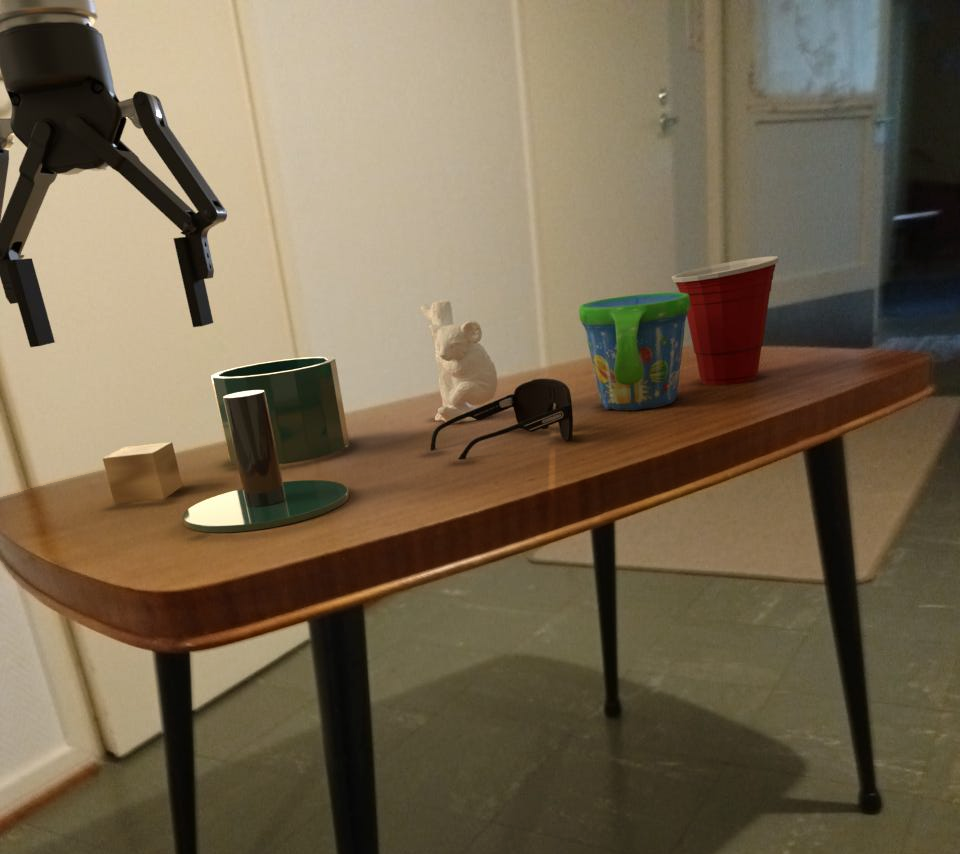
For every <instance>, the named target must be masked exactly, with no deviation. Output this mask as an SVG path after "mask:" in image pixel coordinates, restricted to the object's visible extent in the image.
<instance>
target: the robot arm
mask: <svg viewBox="0 0 960 854" xmlns="http://www.w3.org/2000/svg"><path fill="white" fill-rule="evenodd" d="M98 18H99V16H98V12H97V7H96V4H95V0H0V74H1V77H2V81H3V84H4V88H5V91H6V94H7V96H8V98H9V100H10V103H11V115H10V118H0V281H1V285H2V288H3V292H4V295H5V299H6V300H7V302H8V303H9V304H10V305H13V304H17V306H18V309H19V313H20V316H21V320H22V324H23V327H24V331H25V334H26V338H27V340H28V341H27V342H28V344H29V347H30V348H36V347H43V346H46V345H51V344H54V343H56V341H55V338H54V334H53V330H52V326H51V323H50V320H49V316H48V312H47V307H46V305H45V301H44V297H43V294H42V291H41V287H40V283H39V279H38V276H37V272H36V269H35V264H34V261H33V258H32V257H31V258H24V257H25V255H24V254H22V252H23V249H24V247H25V245H26V242H27V240H28V238H29V235H30V233H31V230H32V228H33V226H34V224H35V221H36V219H37V217H38V214H39V212H40V210H41V207H42V205H43V202H44V200H45V197H46V195H47V193H48V191H49V189H50V186H51V185H52V184H53V183H54V182H55V181H56V179H57V177H58V175H65V176H73V175H78V174H80V173H83V172H85V171H93V172H99V171H106V170H107V168H108V167H110V168H111V169H112V170H114V171H115V172H117V173H118V174H120V176H122V177H123V178H124V179H125V180H126V181H127V182H128V183H129V184H130V185H131V186H132V187H134V188H135V190H137V191H138V193H140V194H141V195H143V196H144V198H145V199H147V200H148V201H149V202H150V203H151V204H152V205H153V206H154V207H155V208H156V209H157V210H159V212H161V213H162V214H163V215H164V216H165V217H166V218H167V219H168V220H169V221H170V222H172V224H174V225H175V226H176V227H177V228H178V229H179V230H180V234H181V235H183V236H180V237H174V238H173V239H172V240H173V242H174V249H175V252H176V256H177V257H176V258H177V261H178V265H179V270H180V274H181V278H182V279H181V280H182V284H183V288H184V293H185V296H186V301H187V306H188V310H189V315H190V319H191V324H192V328H199V327H204V326H208V325H212V324H214V318H213V315H212V314H213V313H212V310H211V305H210V301H209V296H208V290H207V286H206V282H205V280H207V279H208V280H209V279H214V272H215V269H214V264H213V259H212V253H211V250H210V245H209V240H208V234H209V231H210V230H211V229H212V228H214V227H215V226H217V225H219V224H221V223H224V222H226V220H227V218H228V212H227V210H226V208H225V207H224V205H223V204H222V203H221V201H220V200H219V198H218V196H217V195H216V194H215V192H214V191H213V189H212V188H211V186H210V185H209V184H208V182H207V180H206V179H205V178H204V176H203V175H202V173H201V171H200V170H199V169H198V167H197V166H196V164H195V162H194V161H193V160H192V159H191V157H190V156H189V154H188V153H187V152H186V149H185V148H184V147H183V146H182V144H181V142H180V141H179V140H178V138H177V137H176V135H175V134H174V132H173V130H172V129H171V128H170V126H169V124H168V121H167V117H166V115H165V110H164V108H163V105H162V102H161V100H160V98H159V97H158V96H157V95H154V94H151V93H148V92H145V91H142V90H138V91H136V92H135V93H134V94H133V96H132V97H130V98H128V99H124V100H121V101H120V100H119V98H118V96H117V94H116V91H115V86H114V80H113V75H112V71H111V67H110V62H109V58H108V53H107V50H106V44H105V41H104V36H103V34H102V33H101V32H99V30H98V29H97V28H95V27H93V26H94V24H95V23H96V21H97V20H98ZM128 119H129V120H130V121H131V123H132V124H133V126H134V127H135V128H136V129H140V130H142V131H143V133H144V135H145V137H146V139H147V140H148V142H149V144H151V146H152V147H153V149H154V150H155V151H156V153H157V155H158V156H159V157H160V159H161V160H162V161H163V163H164V164H165V166H166V168H167V169H168V170H169V171H170V173H171V174H172V176H173V177H174V178H175V181H176V182H177V183H178V184H179V186H180V187H181V189H182V190H183V192H184V193H185V195H186V196H187V198H188V200H190V203H191V204H192V205H193V206H194V208H195V209H196V210H197V212H196V211H194V210H193V208H192V207H190V206H189V204H187V203H186V202H185V201H184V199H181V197H180V196H178V194H177V193H175V192H174V191H173V190H172V189H171V188H170V187H169V186H168V185H167V184H166V183H164V181H163V180H161V179H160V177H158V176H157V175H156V174H155V173H154V172H153V171H152V170H151V169H150V168H148V166H146V165H145V164H144V163H143V162H142V161H141V160H140V157H139V156H138V155H137V154H136V153H135V152H133V150H131V148H129V147H128V146H127V145H126V144H125V143H124V142H123V141H122V140H121V139H122V136H123V133H124V129H125V127H126V124H127V122H128V121H127V120H128ZM15 137H16V138H17V139H18V140H19V141H20V142H21V144H22V145H24V146H25V148H26V150H25V153H24V155H23V157H22V160H21V163H20V165H19V168H18V172H19V176H18V178H17V181H16V184H15V186H14V188H13V191H12V193H11V195H10V197H9V200H8V203H7V206H6V208H5V210H4V213H3V207H4V200H5V192H6V186H7V178H8V171H9V163H10V150H11V149H12V147H13V146H14V144H15V143H14V139H15ZM2 213H3V216H2Z"/></svg>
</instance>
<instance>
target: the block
mask: <svg viewBox="0 0 960 854" xmlns="http://www.w3.org/2000/svg"><path fill="white" fill-rule="evenodd" d="M102 463H103V465H104V469H105V474H106V477H107V481H108V484H109V488H110V493H111V496H112V500H113V503H114V505H117V504H126V503H135V502H145V501H146V502H147V501H156V500H157V501H158V500H164V499H166V498H168V497H169V496H170V495H173V493H175V492H176V491H177V490H179V489H181V488H182V487H183V482H182V477H181V474H180V469H179V465H178V462H177V456H176V452H175V449H174V444H173V442H172V441H169V442H159V443H158V442H157V443H151V444H149V443H148V444H141V445H130V446H123V447H121V448H120V449H118V450H115V451H114V452H112V453H110V454H108V455H106V456H104V457H103V458H102Z"/></svg>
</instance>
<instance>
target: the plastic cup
mask: <svg viewBox="0 0 960 854" xmlns="http://www.w3.org/2000/svg"><path fill="white" fill-rule="evenodd" d="M779 259H780V257H779V256H776V255H771V256H760V257H752V258H745V259H740V260H734V261H728V262H723V263H716V264H712V265H708V266H704V267H700V268H695V269H691V270H687V271H684V272H680V273H677V274H675V275H672V276H671V280H672V283H675V285H676V287H677V288H678V293H686V294H688V295H689V299H690V309H689V311H688V315H687V316H686V320H687V323H688V328H689V333H690V338H691V339H690V340H691V343H692V347H693V353H694V354H695V358H696V364H697V369H698V375H699V378H700V380H701V383H702V384H703V385H707V386H708V385H709V386H724V385H725V386H727V385H737V384H745V383H748V382H752V381H755V380H756V379H757V374H758V373H759V368H760V361H761V353H762V347H764V345H763V344H764V337H765V331H766V323H767V317H768V310H769V301H770V296H771V292H772V285H773V280H774V274H775V273H774V272H775V270H776V269H775V268H776V267H777V266H776V264H778V263H779Z"/></svg>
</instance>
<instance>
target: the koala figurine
mask: <svg viewBox="0 0 960 854" xmlns="http://www.w3.org/2000/svg"><path fill="white" fill-rule="evenodd" d="M420 312H421V313H422V315H423V316H424V317H425V318H426V319H427V321H429V323H431V324H430V325H429V326H428V327H429V329H430V332H431V338H432V340H433V341H434V347H435V351H434V352H435V353H434V354H435V356H434V357H435V362H436V363H437V367H438V372H437V373H438V379H439V393H440V397H441V402H442V406H440V407H439V408H438V409H437V413H436V415H435V417H434V420H435V421H443V422H444V423H445V422H447V421H449V420H451V419H453V418H455V417H457V416H460V415H462V414H464V413H467V412H469V411H472V410H474V409H477V408H479V407H478V406H480V405H484V404H487V403H488V402H490V401H492V399H493V398H494V396H495V395H496V392H497V389H498V373H497V369H496V366H495V363H494V361H493V360H492V359H491V356H490V355H489V353H488V352H487V350H486V349H485V347H484V345H482V344H481V343H479V342H480V341H481V340H482V335H483V331H482V329H481V325H480V324H479V323H478V322H477V321H476V320H467V321H466V322H464V323H463V324H460V323H454V319H453V308H452V304H451V301H450V300H449V298H446V299H441V300H438V301H434V302H432V304H431V306H429V305H428V304H423V305H422V306H421V307H420ZM475 421H478V420H477V419H474V418H472V417H467V418H464V419H462V420H459V421H457V422H455V423H452V424H451V425H455V424H459V423H465V422H475Z"/></svg>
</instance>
